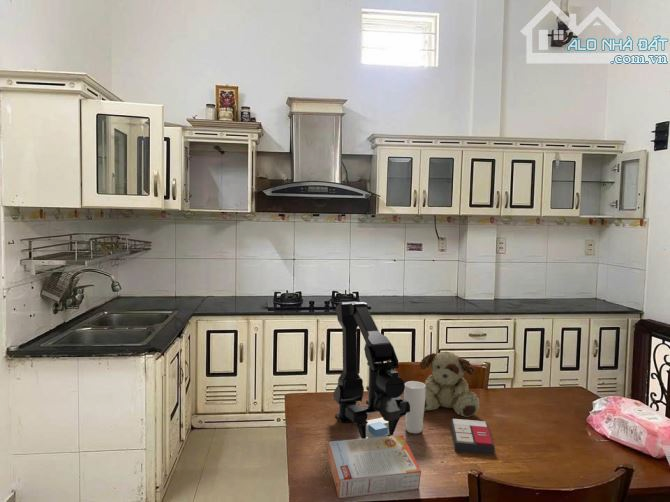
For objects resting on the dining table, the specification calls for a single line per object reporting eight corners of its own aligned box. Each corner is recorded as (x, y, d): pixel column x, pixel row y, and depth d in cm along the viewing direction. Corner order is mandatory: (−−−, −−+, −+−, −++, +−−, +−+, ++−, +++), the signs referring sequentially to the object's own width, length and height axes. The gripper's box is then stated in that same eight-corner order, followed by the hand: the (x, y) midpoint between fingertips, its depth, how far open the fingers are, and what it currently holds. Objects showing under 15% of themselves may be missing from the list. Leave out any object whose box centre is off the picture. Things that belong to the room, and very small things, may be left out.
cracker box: (401, 452, 126) (327, 458, 122) (403, 434, 124) (328, 439, 120) (419, 491, 113) (337, 499, 108) (422, 471, 111) (338, 478, 107)
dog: (409, 410, 161) (411, 355, 159) (420, 392, 178) (422, 342, 177) (478, 422, 152) (480, 363, 151) (482, 402, 169) (484, 349, 168)
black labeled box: (455, 440, 131) (451, 416, 146) (455, 454, 132) (450, 429, 147) (495, 444, 130) (486, 419, 144) (494, 458, 130) (486, 432, 145)
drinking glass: (424, 436, 141) (425, 389, 140) (402, 434, 142) (403, 387, 141) (424, 426, 147) (425, 381, 146) (403, 424, 149) (404, 380, 148)
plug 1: (362, 433, 142) (362, 421, 142) (384, 428, 146) (384, 416, 145) (369, 439, 138) (369, 426, 138) (391, 434, 142) (391, 421, 142)
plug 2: (367, 451, 131) (368, 424, 131) (379, 448, 133) (380, 421, 133) (376, 458, 127) (377, 430, 127) (388, 455, 129) (389, 428, 128)
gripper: (364, 400, 118) (363, 458, 119) (422, 389, 126) (421, 443, 127) (344, 386, 128) (343, 439, 129) (399, 377, 136) (398, 427, 137)
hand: (377, 438), depth 130 cm, fingers open, 9 cm apart
